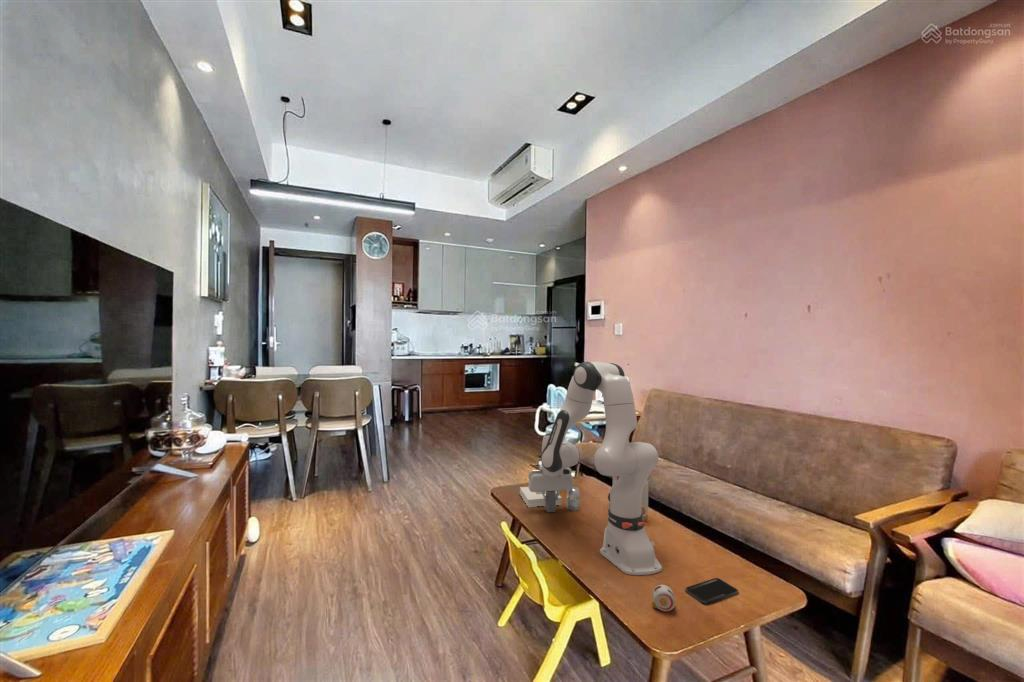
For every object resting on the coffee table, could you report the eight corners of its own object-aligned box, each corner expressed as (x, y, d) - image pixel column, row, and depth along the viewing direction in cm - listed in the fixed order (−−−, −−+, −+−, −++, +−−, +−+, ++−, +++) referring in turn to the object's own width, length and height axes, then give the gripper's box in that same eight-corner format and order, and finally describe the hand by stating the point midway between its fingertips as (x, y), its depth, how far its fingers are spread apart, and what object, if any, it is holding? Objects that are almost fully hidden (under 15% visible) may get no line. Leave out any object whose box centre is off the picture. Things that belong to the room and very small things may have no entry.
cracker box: (642, 516, 178) (643, 468, 178) (648, 522, 172) (649, 472, 172) (611, 517, 176) (612, 468, 176) (616, 523, 170) (617, 473, 170)
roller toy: (676, 615, 113) (677, 594, 113) (652, 611, 115) (653, 590, 115) (674, 605, 118) (674, 585, 118) (650, 601, 119) (651, 581, 119)
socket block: (561, 505, 188) (561, 497, 188) (527, 507, 184) (528, 499, 184) (550, 492, 203) (551, 485, 203) (519, 494, 200) (519, 487, 200)
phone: (683, 588, 125) (717, 577, 131) (683, 592, 125) (717, 580, 131) (705, 603, 117) (740, 591, 124) (705, 607, 117) (740, 594, 124)
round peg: (580, 510, 182) (581, 490, 182) (569, 511, 181) (569, 491, 181) (576, 505, 188) (576, 486, 188) (564, 506, 187) (565, 486, 187)
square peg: (555, 511, 180) (555, 491, 180) (547, 512, 179) (548, 491, 179) (552, 508, 183) (553, 488, 183) (545, 509, 182) (545, 489, 182)
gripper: (530, 472, 176) (529, 504, 176) (575, 470, 180) (574, 501, 180) (526, 468, 182) (526, 498, 182) (570, 466, 186) (569, 496, 186)
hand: (550, 500), depth 181 cm, fingers closed on square peg, 3 cm apart
